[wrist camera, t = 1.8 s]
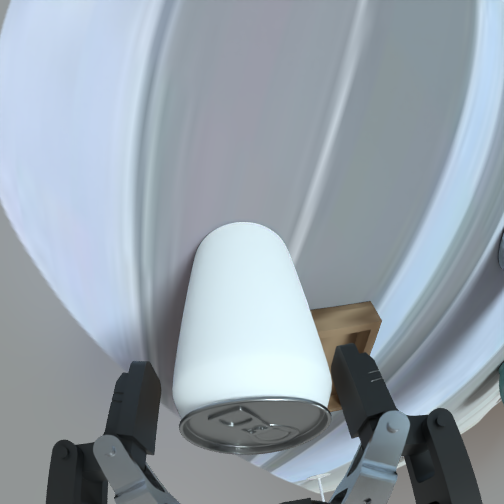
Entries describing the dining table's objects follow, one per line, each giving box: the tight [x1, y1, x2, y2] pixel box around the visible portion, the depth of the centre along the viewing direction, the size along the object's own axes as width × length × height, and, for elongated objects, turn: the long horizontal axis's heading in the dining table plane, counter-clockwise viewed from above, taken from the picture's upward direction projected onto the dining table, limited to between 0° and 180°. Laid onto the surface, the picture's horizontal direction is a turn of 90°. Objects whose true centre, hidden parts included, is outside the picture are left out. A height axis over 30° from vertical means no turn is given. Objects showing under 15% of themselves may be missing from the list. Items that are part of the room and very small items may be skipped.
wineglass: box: [306, 473, 331, 502], centre depth 49 cm, size 8×9×20 cm
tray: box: [310, 301, 382, 412], centre depth 24 cm, size 14×15×2 cm
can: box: [172, 222, 332, 455], centre depth 14 cm, size 6×6×12 cm
